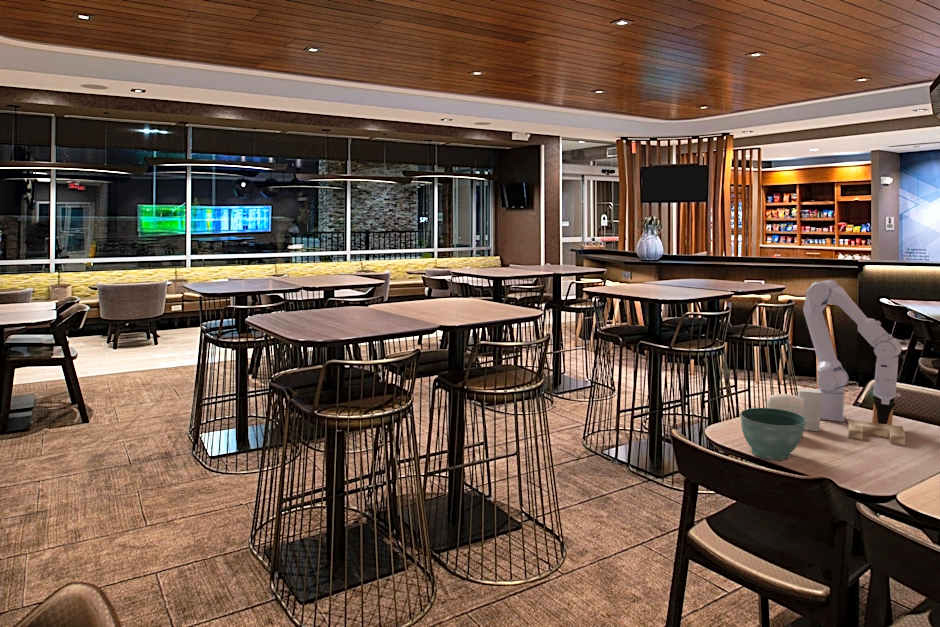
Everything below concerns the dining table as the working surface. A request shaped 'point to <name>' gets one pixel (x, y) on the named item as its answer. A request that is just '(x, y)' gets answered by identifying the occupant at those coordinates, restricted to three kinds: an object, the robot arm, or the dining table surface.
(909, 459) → the dining table surface
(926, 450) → the dining table surface
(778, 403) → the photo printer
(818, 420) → the skincare box
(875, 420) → the orange brown rectangular block
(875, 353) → the robot arm
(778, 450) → the green bowl
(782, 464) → the dining table surface
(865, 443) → the dining table surface
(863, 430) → the notched board
